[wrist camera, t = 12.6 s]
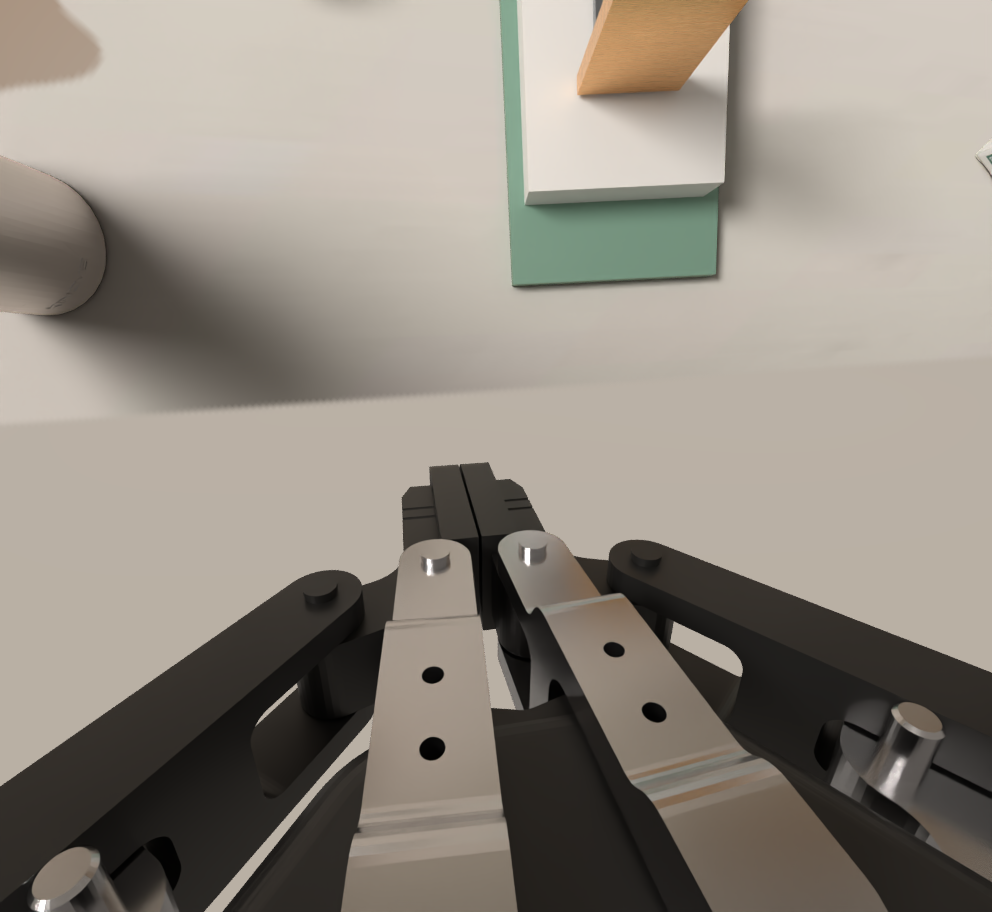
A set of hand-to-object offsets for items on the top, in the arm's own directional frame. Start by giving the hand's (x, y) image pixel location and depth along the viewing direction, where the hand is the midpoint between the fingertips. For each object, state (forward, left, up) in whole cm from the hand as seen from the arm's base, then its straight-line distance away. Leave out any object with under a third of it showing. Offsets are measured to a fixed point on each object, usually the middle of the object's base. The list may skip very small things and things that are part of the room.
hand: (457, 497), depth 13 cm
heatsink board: (-7, +21, -25) cm, 34 cm away
